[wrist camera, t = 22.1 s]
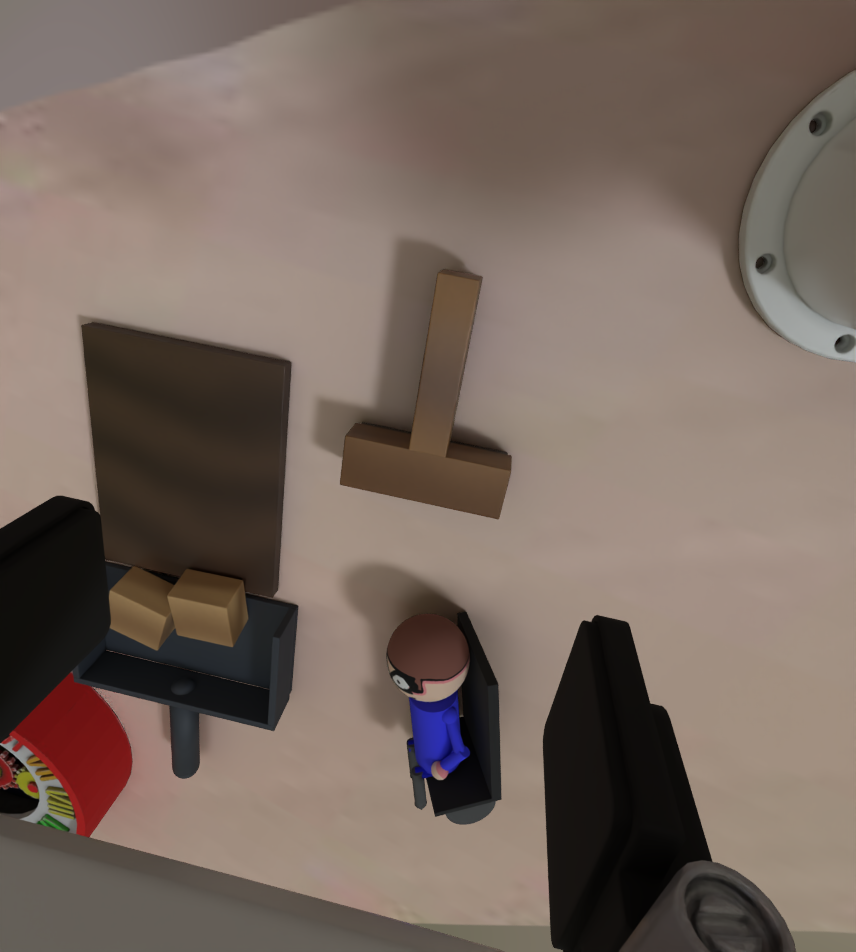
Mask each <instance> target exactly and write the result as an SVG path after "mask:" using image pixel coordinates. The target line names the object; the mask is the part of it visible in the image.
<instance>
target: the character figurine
mask: <svg viewBox="0 0 856 952" xmlns="http://www.w3.org/2000/svg"><path fill="white" fill-rule="evenodd" d="M457 616H458V627H457V626H456V625H455V624H454V623H453V622H451V621H450V620H448V619H447V618H445V617H442V616H439V615H436V614H420V615H416V616H413V617H411V618H409V619H407V620H405V621H404V622H403V623H401V624H400V625H399V626H398V627H397V629H396V630H395V631H394V633H393V634H392V636H391V638H390V641H389V643H388V647H387V654H386V661H387V667H388V671H389V674H390V676H391V678H392V680H393V682H394V683H395V685H396V686H397V687H398V688H399V689H400V690H401V691H402V692H403V693H404V694H406V695H407V696H409V701H410V711H411V720H412V729H413V738H410V739H408V740H407V750H408V759H409V767H410V777H411V778H412V781H413V790H414V798H415V806H416V807H417V808H419V809H421V810H422V809H423V808H424V807H425V806H426V804H427V801H426V792H425V782H424V778H426V780H427V784H428V788H429V792H430V797H431V801H432V805H433V810H434V814H435V817H436V816H440V815H444V814H446V816H447V818H448V819H449V820H450V821H451V822H453V823H456V824H471V823H475V822H477V821H480V820H481V819H483V818H485V817H486V816H487V815H488V814H489V813H490V812H491V811H492V810H493V808H494V806H495V802H496V801H497V800H501V766H500V729H499V691H498V682H497V680H496V678H495V676H494V673H493V671H492V669H491V667H490V664H489V662H488V660H487V658H486V655H485V653H484V651H483V648H482V646H481V644H480V642H479V639H478V637H477V635H476V633H475V630H474V628H473V626H472V624H471V621H470V619H469V617H468V615H467V612H462V613H457ZM461 685H462V698H463V715H464V717H459V704H458V688H459V687H460V686H461Z"/></svg>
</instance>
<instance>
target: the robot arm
mask: <svg viewBox="0 0 856 952" xmlns="http://www.w3.org/2000/svg"><path fill="white" fill-rule="evenodd" d="M811 120H814V121H816V123H817V128H816V130H815V131H814V132H813V133H811V132H810V130H809V124H810V121H811ZM759 257H763V259H764V263H763V265H762V266H761V267H760V268H756V266H755V264H756V261H757V259H758V258H759ZM739 264H740V268H741V273H742V277H743V282H744V286H745V289H746V291H747V293H748V295H749V297H750V299H751V302H752V304H753V306H754V308H755V309H756V311H757V312H758V313H759V314H760V316H761V317H762V318H763V319H764V321H765V322H766V323H767V324H768V326H769V327H770V328H771V329H773V330H774V331H775V332H777V333H778V334H779V335H780V336H782V337H783V338H784V339H785V340H787V341H788V342H790V343H792V344H794V345H796V346H798V347H800V348H802V349H804V350H806V351H809V352H811V353H814V354H817V355H820V356H823V357H826V358H829V359H834V360H842V361H849V362H856V70H854V71H852V72H850V73H848V74H847V75H845V76H844V77H842V78H841V79H840V80H838V81H837V82H835V83H834V84H833V85H831V86H830V87H828V88H827V89H826V90H824V91H823V92H821V93H820V94H819V95H818V96H817V97H816V98H814V99H813V100H812V101H811V102H810V103H809V104H808V105H807V106H806V107H805V108H804V109H803V110H802V111H801V112H800V113H799V114H798V115H797V116H796V117H795V118H794V119H793V120H792V121H791V122H790V124H789V125H788V126H787V127H786V129H785V130H784V131H783V133H782V134H781V135H780V137H779V138H778V139H777V140H776V142H775V143H774V144H773V146H772V147H771V148H770V150H769V152H768V154H767V156H766V157H765V159H764V161H763V163H762V165H761V166H760V168H759V170H758V172H757V174H756V175H755V177H754V180H753V183H752V186H751V188H750V191H749V194H748V197H747V199H746V202H745V205H744V209H743V215H742V220H741V226H740V231H739ZM839 337H841V339H840V342H839V343H838V344H836V345H835V342H836V340H837V339H838V338H839ZM110 625H111V614H110V604H109V594H108V584H107V574H106V564H105V553H104V543H103V533H102V523H101V517H100V514H99V513H98V512H96V511H95V509H94V507H93V505H92V504H91V503H89V502H87V501H83V500H79V499H74V498H70V497H65V496H55V497H53V498H51V499H49V500H48V501H46V502H44V503H43V504H41V505H39V506H37V507H36V508H34V509H32V510H31V511H29V512H27V513H26V514H24V515H22V516H21V517H19V518H17V519H16V520H14V521H12V522H11V523H9V524H7V525H6V526H4V527H2V528H1V529H0V743H1V742H2V741H3V740H4V739H5V738H6V737H7V736H8V735H9V734H10V733H11V732H12V731H13V730H14V729H15V728H16V727H17V726H18V725H19V724H20V723H21V722H22V721H23V720H24V719H25V718H26V717H27V716H28V715H29V714H30V713H31V712H32V711H33V710H34V709H35V708H36V707H37V706H38V705H39V704H40V703H41V702H42V701H43V700H44V699H45V698H46V697H47V696H48V695H49V694H50V693H51V692H52V691H53V690H54V689H55V688H56V687H57V686H58V685H59V684H60V683H61V682H62V681H63V680H64V679H65V678H66V677H67V676H68V675H69V673H70V672H71V671H72V670H73V669H74V668H75V667H76V666H77V665H78V664H79V663H80V662H81V661H82V660H83V659H84V658H85V657H86V656H87V655H88V654H89V653H90V652H91V651H92V650H93V649H94V648H95V647H96V646H97V645H98V644H99V643H100V642H101V641H102V640H103V639H104V638H105V636H106V635H107V633H108V631H109V628H110ZM543 759H544V783H545V807H546V831H547V856H548V880H549V904H550V927H551V941H552V945H553V947H554V948H557V949H561V950H563V952H796V949H795V944H794V940H793V938H792V936H791V933H790V931H789V929H788V927H787V924H786V922H785V920H784V919H783V917H782V916H781V914H780V913H779V912H778V910H777V909H776V907H775V906H774V904H773V903H772V902H771V900H770V899H769V898H768V897H767V896H766V895H765V894H764V893H763V892H762V891H761V890H760V889H759V888H758V887H757V886H756V885H755V884H754V883H752V882H751V881H750V880H748V879H747V878H745V877H744V876H743V875H741V874H740V873H738V872H737V871H735V870H733V869H731V868H729V867H726V866H724V865H722V864H720V863H716V862H712V859H711V855H710V852H709V849H708V845H707V842H706V838H705V835H704V832H703V828H702V825H701V822H700V818H699V815H698V812H697V808H696V805H695V801H694V798H693V795H692V791H691V788H690V785H689V781H688V778H687V774H686V771H685V768H684V764H683V761H682V758H681V754H680V751H679V748H678V744H677V741H676V737H675V734H674V731H673V727H672V724H671V721H670V718H669V715H668V713H667V711H666V710H665V708H664V707H663V706H659V705H655V704H650V701H649V697H648V693H647V690H646V686H645V682H644V678H643V675H642V671H641V667H640V663H639V659H638V656H637V652H636V648H635V644H634V641H633V637H632V633H631V629H630V626H629V624H628V623H627V622H625V621H621V620H617V619H612V618H608V617H603V616H599V615H596V616H594V618H593V619H592V622H589V621H582V623H581V625H580V627H579V630H578V633H577V636H576V638H575V641H574V644H573V647H572V650H571V653H570V656H569V658H568V661H567V664H566V667H565V670H564V673H563V675H562V678H561V681H560V684H559V687H558V690H557V693H556V695H555V698H554V701H553V704H552V707H551V710H550V712H549V715H548V718H547V721H546V724H545V729H544V735H543ZM0 952H505V951H502V950H499V949H496V948H492V947H488V946H485V945H482V944H478V943H474V942H471V941H468V940H464V939H461V938H458V937H454V936H451V935H447V934H444V933H440V932H437V931H433V930H430V929H427V928H423V927H420V926H416V925H413V924H409V923H406V922H403V921H399V920H396V919H392V918H389V917H385V916H381V915H378V914H374V913H370V912H366V911H363V910H359V909H355V908H352V907H348V906H344V905H340V904H337V903H333V902H329V901H326V900H322V899H318V898H315V897H311V896H307V895H303V894H300V893H296V892H292V891H289V890H285V889H281V888H277V887H274V886H270V885H266V884H263V883H259V882H255V881H252V880H248V879H244V878H240V877H237V876H233V875H229V874H226V873H222V872H218V871H214V870H210V869H207V868H203V867H199V866H195V865H192V864H188V863H184V862H180V861H176V860H173V859H169V858H165V857H161V856H158V855H154V854H150V853H146V852H142V851H139V850H135V849H131V848H127V847H123V846H120V845H116V844H112V843H108V842H104V841H101V840H97V839H93V838H89V837H85V836H82V835H78V834H74V833H70V832H66V831H63V830H59V829H55V828H51V827H47V826H43V825H40V824H36V823H32V822H28V821H24V820H20V819H16V818H12V817H9V816H5V815H1V814H0Z"/></svg>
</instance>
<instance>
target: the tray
mask: <svg viewBox="0 0 856 952" xmlns="http://www.w3.org/2000/svg"><path fill="white" fill-rule="evenodd" d="M82 336H83V346H84V356H85V367H86V377H87V387H88V397H89V407H90V417H91V427H92V437H93V447H94V457H95V467H96V477H97V487H98V497H99V507H100V517H101V523H102V533H103V543H104V553H105V559H106V560H110V561H115V562H119V563H123V564H128V565H132V566H137V567H141V568H145V569H149V570H154V571H158V572H162V573H167V574H171V575H175V576H180V577H181V576H182V574H183V573H184V572H185V570H186V569H191V570H196V571H201V572H205V573H210V574H215V575H220V576H225V577H229V578H234V579H239V580H243V583H244V590H245V592H250V593H254V594H258V595H263V596H267V597H271V598H273V596H274V595H275V593H276V592H277V590H278V581H279V564H280V547H281V530H282V513H283V496H284V479H285V462H286V445H287V428H288V411H289V394H290V377H291V362H288V361H283V360H278V359H273V358H268V357H263V356H258V355H253V354H248V353H243V352H238V351H233V350H228V349H223V348H218V347H213V346H208V345H203V344H199V343H194V342H189V341H184V340H179V339H174V338H169V337H164V336H159V335H154V334H149V333H144V332H139V331H134V330H129V329H124V328H119V327H114V326H109V325H104V324H99V323H94V322H92V323H88V324H84V325H82Z"/></svg>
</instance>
